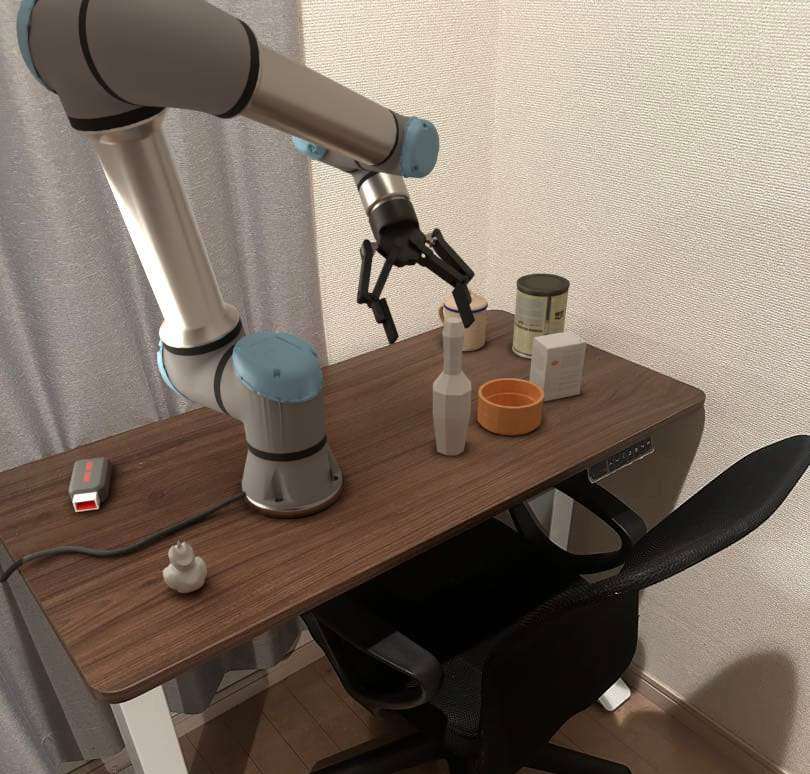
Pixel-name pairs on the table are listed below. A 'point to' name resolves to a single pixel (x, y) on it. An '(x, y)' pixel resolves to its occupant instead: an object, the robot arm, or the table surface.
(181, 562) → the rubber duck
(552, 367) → the small box
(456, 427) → the low poly bottle
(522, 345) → the coffee can
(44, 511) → the table surface
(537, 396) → the bowl
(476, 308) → the teacup with lid
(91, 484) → the usb drive
